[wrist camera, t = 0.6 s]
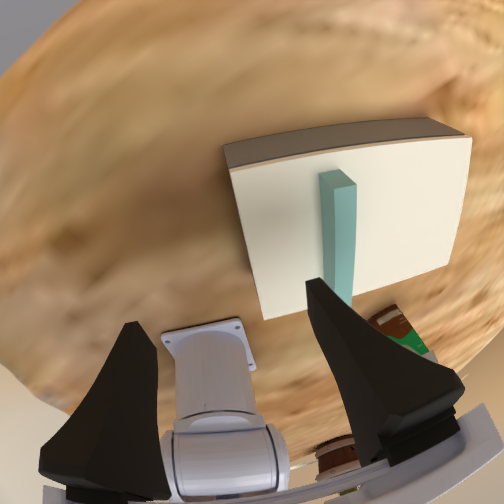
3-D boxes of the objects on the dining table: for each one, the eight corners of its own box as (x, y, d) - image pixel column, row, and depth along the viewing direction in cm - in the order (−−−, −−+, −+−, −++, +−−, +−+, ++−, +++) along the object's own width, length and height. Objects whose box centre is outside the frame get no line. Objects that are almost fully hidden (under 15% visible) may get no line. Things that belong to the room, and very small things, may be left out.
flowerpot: (311, 442, 59) (331, 512, 43) (368, 425, 61) (392, 490, 45) (304, 455, 68) (320, 515, 52) (354, 441, 70) (373, 497, 54)
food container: (349, 310, 30) (387, 390, 22) (398, 295, 30) (442, 365, 22) (341, 367, 37) (365, 430, 29) (380, 354, 38) (408, 412, 30)
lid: (444, 260, 21) (460, 279, 19) (262, 315, 21) (269, 342, 19) (467, 135, 15) (493, 148, 13) (229, 169, 14) (234, 189, 12)
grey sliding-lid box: (417, 231, 25) (442, 258, 22) (252, 274, 25) (262, 311, 21) (428, 117, 18) (464, 133, 15) (222, 145, 18) (228, 167, 15)
